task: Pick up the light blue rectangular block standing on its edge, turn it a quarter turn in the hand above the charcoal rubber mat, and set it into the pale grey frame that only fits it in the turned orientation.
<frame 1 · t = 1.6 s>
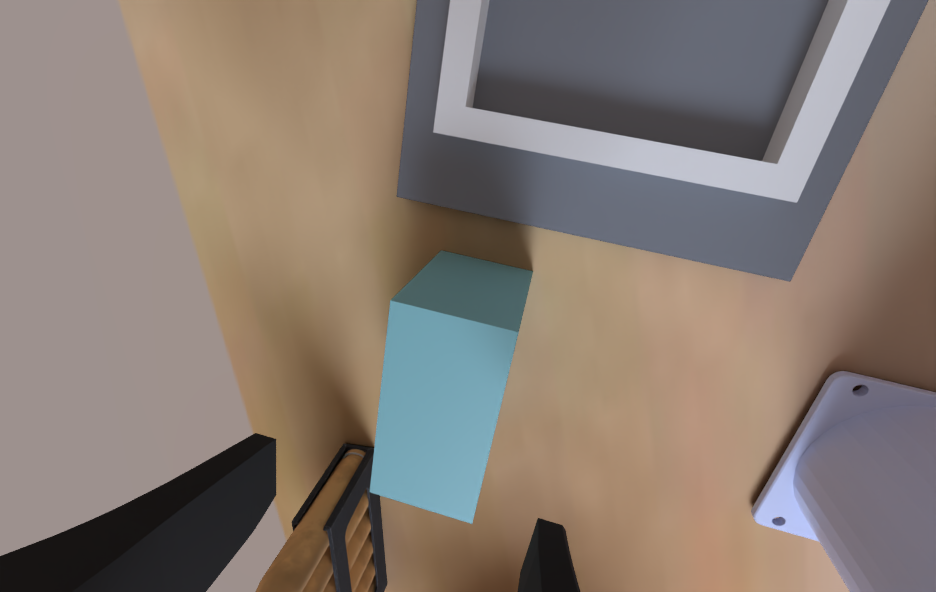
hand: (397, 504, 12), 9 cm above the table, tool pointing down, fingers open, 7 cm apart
mat: (638, 30, 15), on the table
ammunition clip: (368, 515, 26), on the table
light blue rectangular block: (470, 341, 20), on the table
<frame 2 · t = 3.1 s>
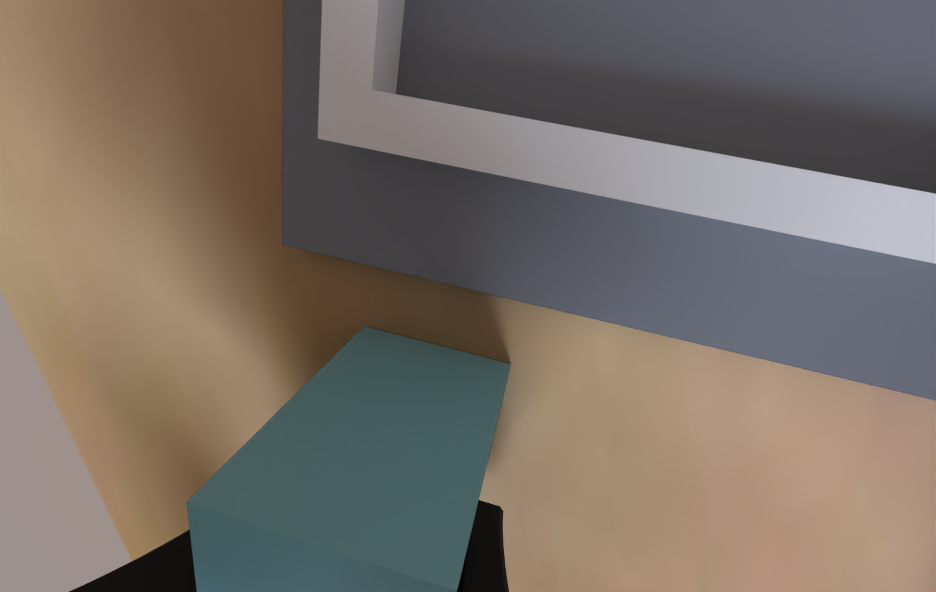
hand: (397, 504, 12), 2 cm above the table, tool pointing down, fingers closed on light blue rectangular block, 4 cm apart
light blue rectangular block: (417, 461, 13), on the table, touching gripper
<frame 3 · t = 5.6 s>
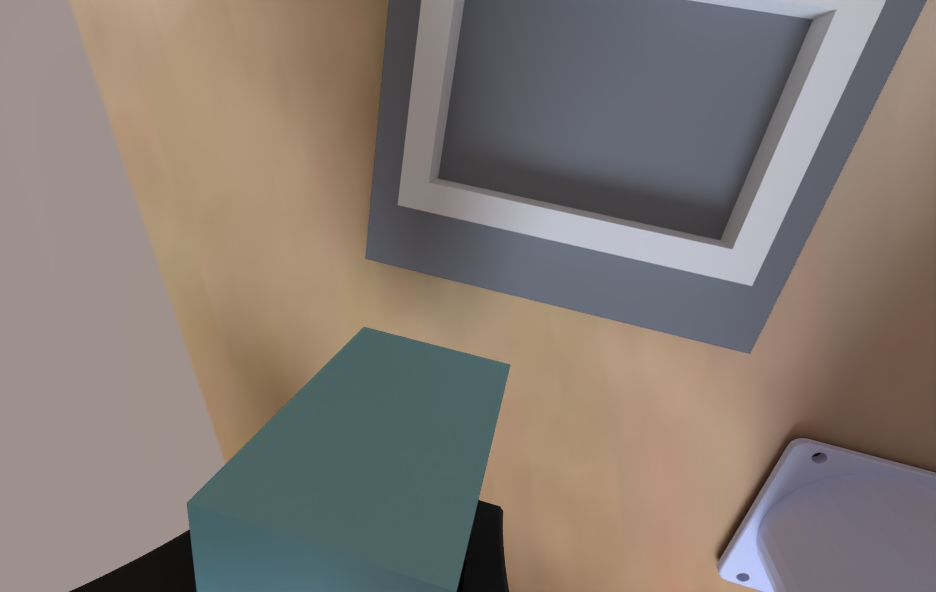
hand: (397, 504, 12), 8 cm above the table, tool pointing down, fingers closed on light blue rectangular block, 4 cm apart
mat: (599, 110, 15), on the table
light blue rectangular block: (416, 461, 13), point 7 cm above the table, touching gripper
when the fingers open (4 cm above the table, at t = 8.6 s): light blue rectangular block drops 2 cm, resting on mat.
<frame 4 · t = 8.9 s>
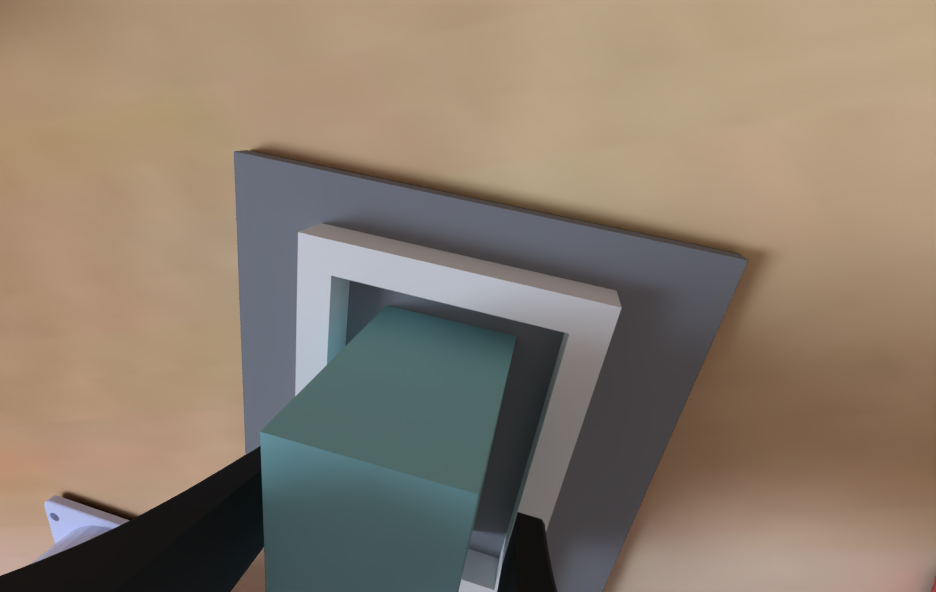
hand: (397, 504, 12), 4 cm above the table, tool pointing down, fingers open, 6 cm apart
mat: (437, 415, 15), on the table
light blue rectangular block: (433, 427, 15), point 1 cm above the table, touching mat
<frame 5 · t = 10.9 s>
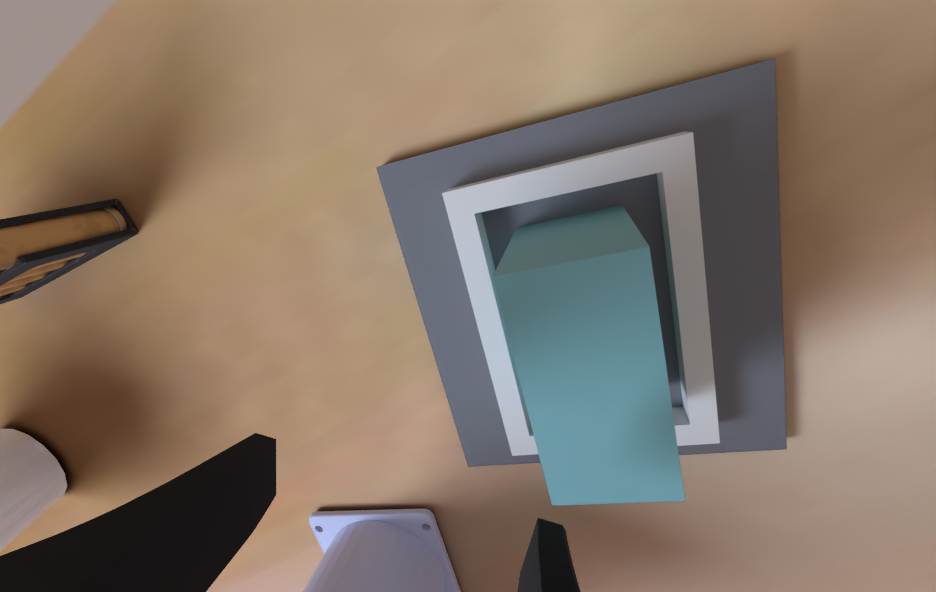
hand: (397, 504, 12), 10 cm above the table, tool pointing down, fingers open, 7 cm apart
mat: (584, 305, 19), on the table
cup: (37, 459, 31), on the table
ammunition clip: (69, 250, 24), on the table
light blue rectangular block: (586, 311, 18), point 1 cm above the table, touching mat
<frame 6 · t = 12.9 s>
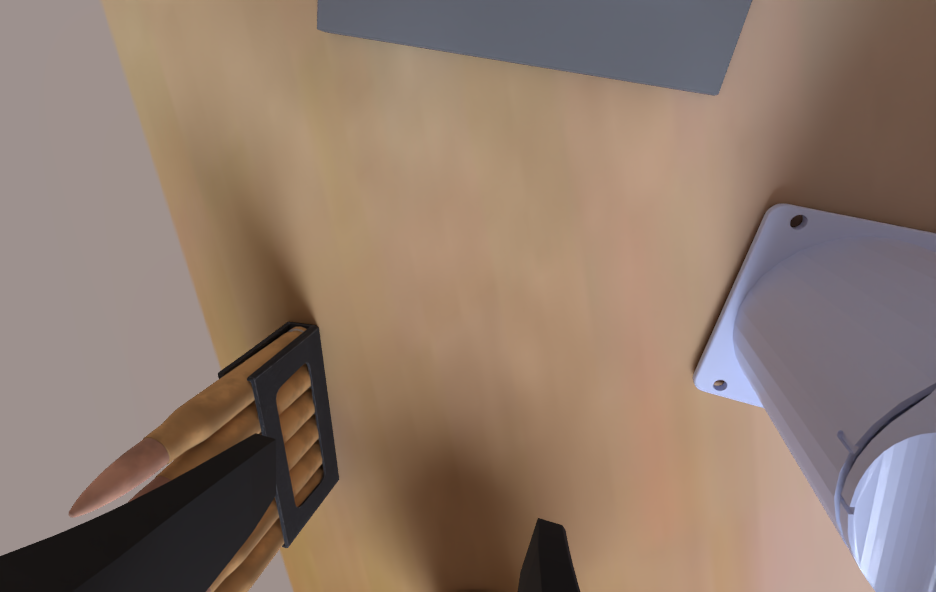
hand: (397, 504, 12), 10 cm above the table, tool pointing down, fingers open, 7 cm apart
ammunition clip: (317, 403, 26), on the table
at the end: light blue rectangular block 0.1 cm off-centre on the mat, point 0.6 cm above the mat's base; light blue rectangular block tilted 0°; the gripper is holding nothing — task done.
